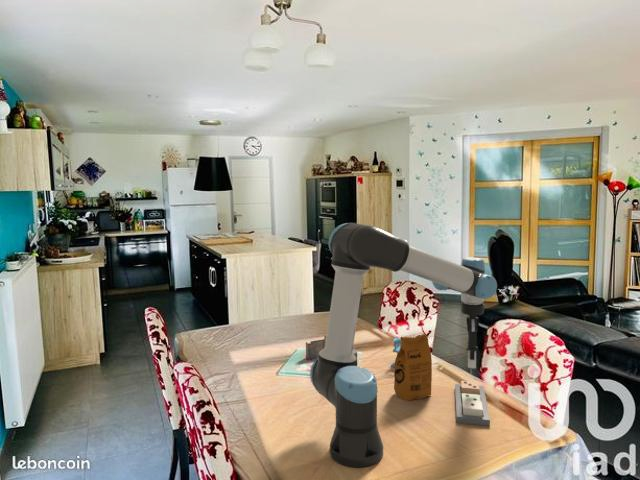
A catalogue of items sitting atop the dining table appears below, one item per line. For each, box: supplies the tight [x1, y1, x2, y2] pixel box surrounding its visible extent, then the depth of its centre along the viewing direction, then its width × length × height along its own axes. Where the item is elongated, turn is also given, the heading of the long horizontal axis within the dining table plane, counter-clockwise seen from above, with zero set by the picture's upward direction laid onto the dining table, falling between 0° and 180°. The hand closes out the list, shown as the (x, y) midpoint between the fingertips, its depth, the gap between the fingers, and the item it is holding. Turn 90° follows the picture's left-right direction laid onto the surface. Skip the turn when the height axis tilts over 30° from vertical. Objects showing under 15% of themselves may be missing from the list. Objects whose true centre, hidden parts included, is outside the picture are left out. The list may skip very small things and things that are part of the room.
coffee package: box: [393, 332, 433, 402], centre depth 173 cm, size 10×12×22 cm
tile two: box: [461, 393, 481, 404], centre depth 164 cm, size 6×6×3 cm
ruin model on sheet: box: [305, 334, 327, 361], centre depth 214 cm, size 11×3×10 cm, turn 115°
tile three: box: [460, 380, 480, 395], centre depth 172 cm, size 6×6×3 cm
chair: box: [390, 337, 402, 369], centre depth 202 cm, size 8×8×12 cm
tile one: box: [461, 400, 483, 417], centre depth 156 cm, size 6×6×3 cm
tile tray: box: [454, 383, 491, 427], centre depth 164 cm, size 26×10×2 cm, turn 166°
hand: (471, 367), depth 170 cm, fingers closed
